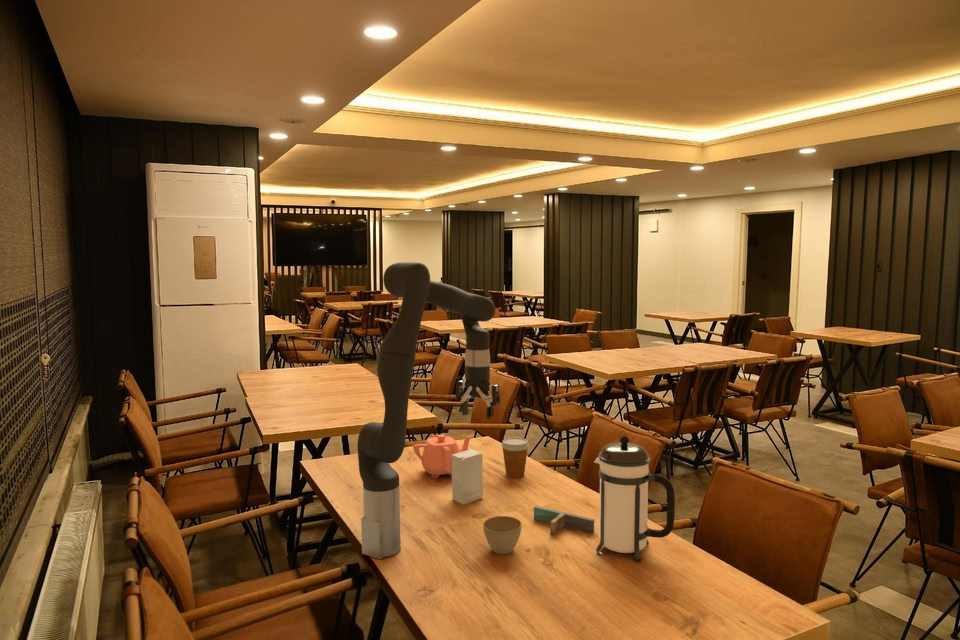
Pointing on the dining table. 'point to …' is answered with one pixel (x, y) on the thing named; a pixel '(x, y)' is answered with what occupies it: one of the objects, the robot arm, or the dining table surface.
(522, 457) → the disposable coffee cup
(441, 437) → the teapot
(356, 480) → the dining table surface
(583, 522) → the t-shaped slab assembly
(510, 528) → the flower pot
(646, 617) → the dining table surface
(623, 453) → the coffee press
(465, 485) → the skincare box
